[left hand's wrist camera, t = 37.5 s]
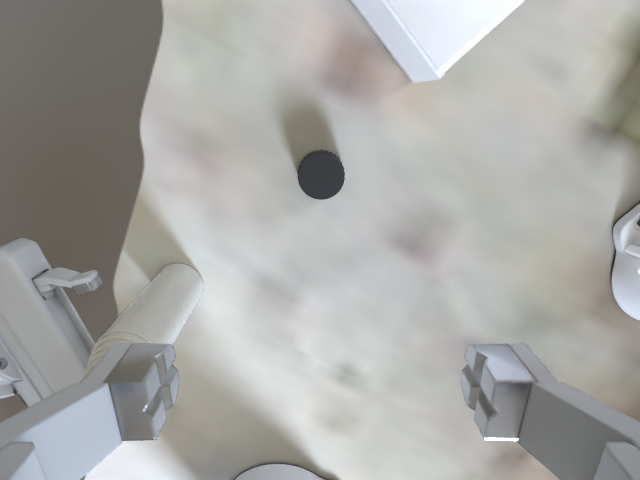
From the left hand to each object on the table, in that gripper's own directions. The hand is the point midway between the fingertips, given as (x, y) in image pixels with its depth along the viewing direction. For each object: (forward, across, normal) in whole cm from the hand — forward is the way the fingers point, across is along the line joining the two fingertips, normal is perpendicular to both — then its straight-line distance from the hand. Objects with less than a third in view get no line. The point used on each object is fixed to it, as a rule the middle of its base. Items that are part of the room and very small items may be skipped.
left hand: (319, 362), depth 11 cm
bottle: (+28, +15, +12) cm, 34 cm away
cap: (+26, 0, 0) cm, 27 cm away
